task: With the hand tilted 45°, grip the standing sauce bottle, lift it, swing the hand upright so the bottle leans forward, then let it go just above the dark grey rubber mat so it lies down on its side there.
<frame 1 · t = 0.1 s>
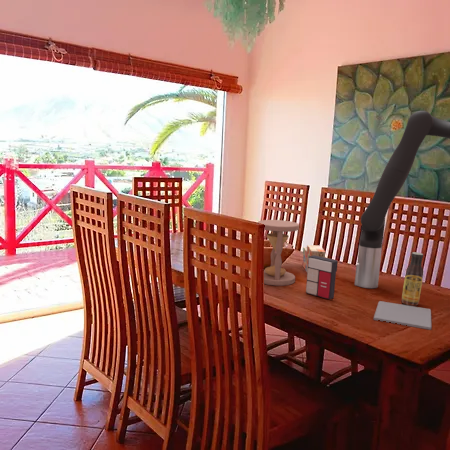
slate mat: (402, 315, 163), on the table
hourglass: (274, 280, 201), on the table
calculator: (319, 296, 181), on the table
stack of blocks: (312, 271, 218), on the table
sauce bottle: (410, 304, 176), on the table
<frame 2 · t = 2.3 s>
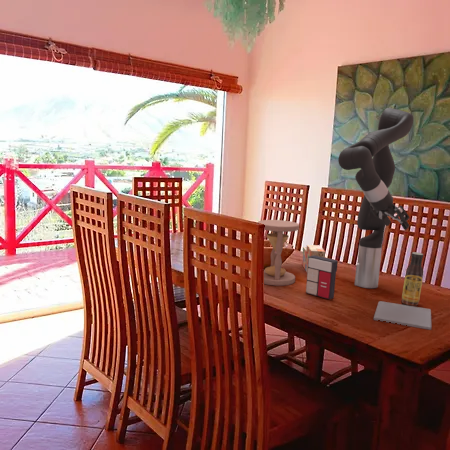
hand: (397, 226, 166), 30 cm above the table, tool tilted 45°, fingers open, 8 cm apart
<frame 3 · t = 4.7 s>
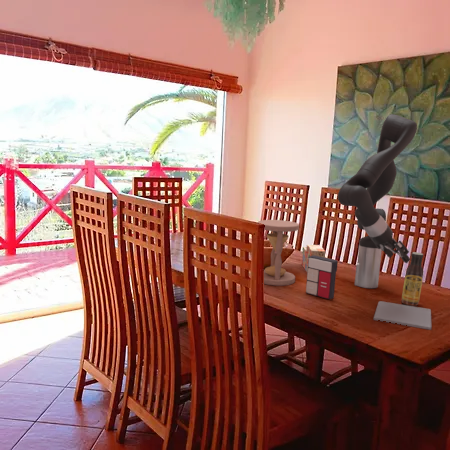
hand: (399, 258, 170), 18 cm above the table, tool tilted 45°, fingers open, 8 cm apart
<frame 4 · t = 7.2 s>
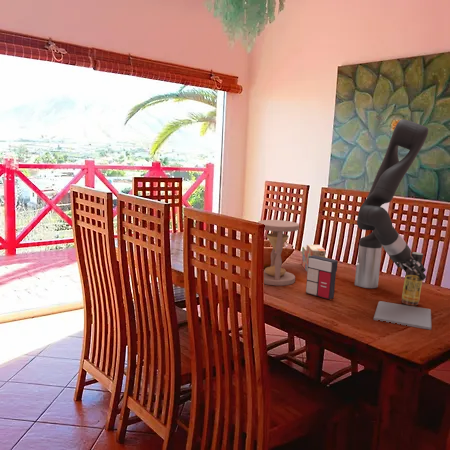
hand: (417, 276, 175), 11 cm above the table, tool tilted 45°, fingers closed on sauce bottle, 6 cm apart
sauce bottle: (410, 304, 176), on the table, touching gripper
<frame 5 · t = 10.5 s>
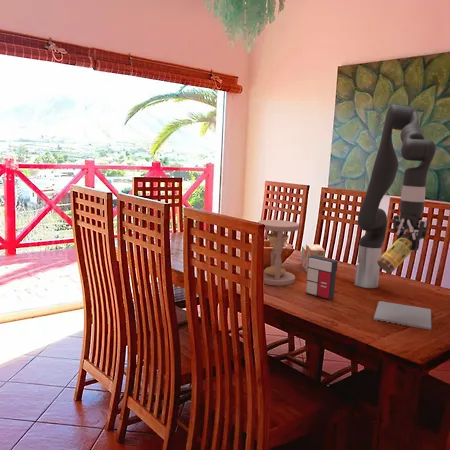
hand: (407, 247, 159), 24 cm above the table, tool pointing down, fingers closed on sauce bottle, 6 cm apart
sauce bottle: (383, 268, 156), point 18 cm above the table, touching gripper
when the fingers open (10 cm above the table, at t = 13.7 s): sauce bottle moves 2 cm, resting on slate mat.
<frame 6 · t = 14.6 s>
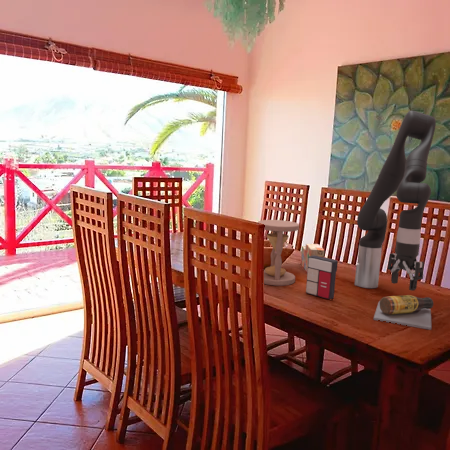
hand: (403, 286, 161), 11 cm above the table, tool pointing down, fingers open, 8 cm apart
sauce bottle: (384, 306, 160), point 4 cm above the table, touching slate mat
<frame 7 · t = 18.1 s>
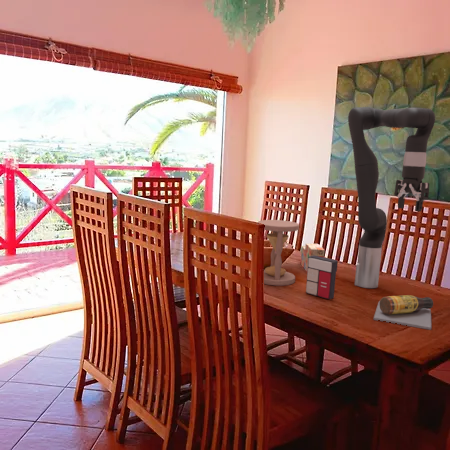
hand: (409, 209, 169), 36 cm above the table, tool pointing down, fingers open, 8 cm apart
at the end: sauce bottle tilted 90°; sauce bottle inside the target area on the slate mat (8.4 cm from its centre), point 3.9 cm above the slate mat's base; sauce bottle touching slate mat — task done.
